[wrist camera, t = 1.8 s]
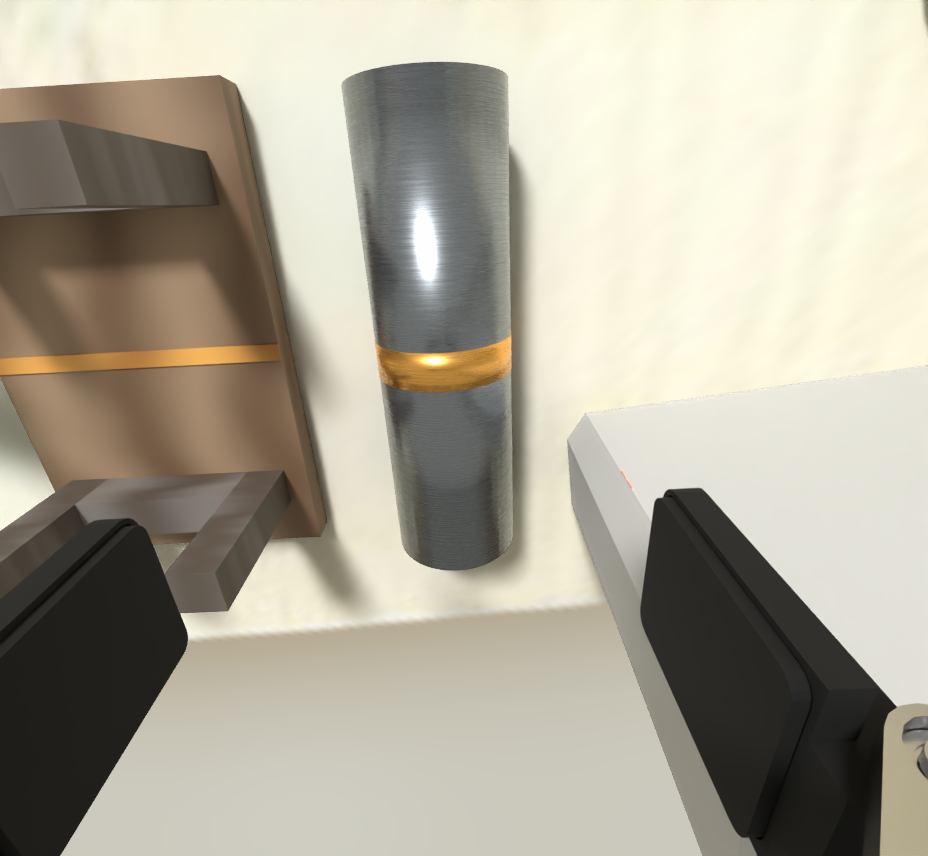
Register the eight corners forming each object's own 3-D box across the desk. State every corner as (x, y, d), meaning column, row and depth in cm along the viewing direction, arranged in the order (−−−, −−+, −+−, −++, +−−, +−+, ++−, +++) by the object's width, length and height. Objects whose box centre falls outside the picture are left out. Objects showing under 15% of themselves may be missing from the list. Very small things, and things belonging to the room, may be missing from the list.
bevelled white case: (569, 526, 30) (744, 1039, 11) (561, 406, 26) (789, 862, 8) (926, 481, 28) (1759, 973, 10) (965, 350, 25) (2313, 735, 7)
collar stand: (235, 84, 20) (64, -9, 11) (326, 521, 29) (271, 653, 21) (-95, 104, 20) (-510, 28, 12) (99, 531, 29) (-51, 667, 21)
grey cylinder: (501, 96, 20) (517, 56, 15) (508, 498, 29) (519, 567, 23) (358, 105, 20) (321, 68, 15) (406, 503, 29) (394, 573, 23)
